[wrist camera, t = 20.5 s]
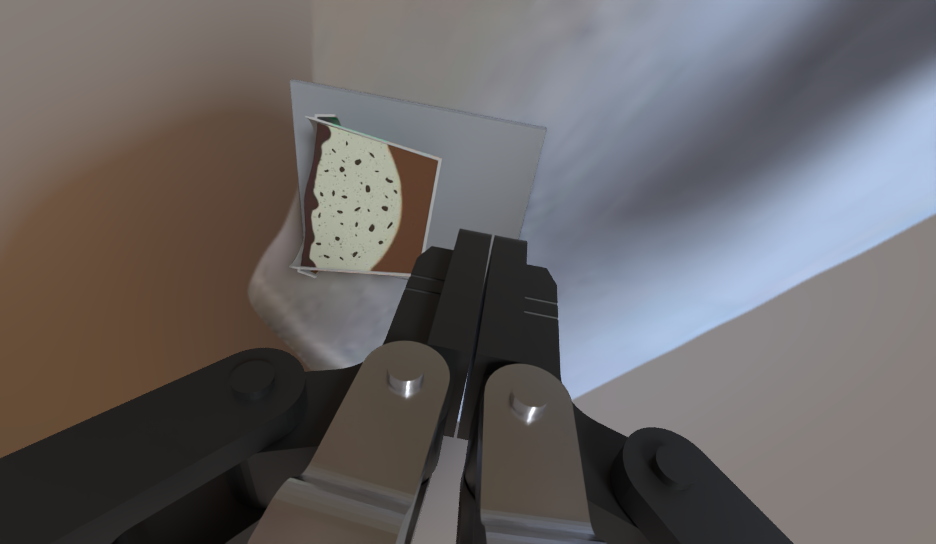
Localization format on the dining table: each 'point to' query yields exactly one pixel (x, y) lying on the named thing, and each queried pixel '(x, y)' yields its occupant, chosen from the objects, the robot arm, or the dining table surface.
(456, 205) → the felt mat
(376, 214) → the food container
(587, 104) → the dining table surface
